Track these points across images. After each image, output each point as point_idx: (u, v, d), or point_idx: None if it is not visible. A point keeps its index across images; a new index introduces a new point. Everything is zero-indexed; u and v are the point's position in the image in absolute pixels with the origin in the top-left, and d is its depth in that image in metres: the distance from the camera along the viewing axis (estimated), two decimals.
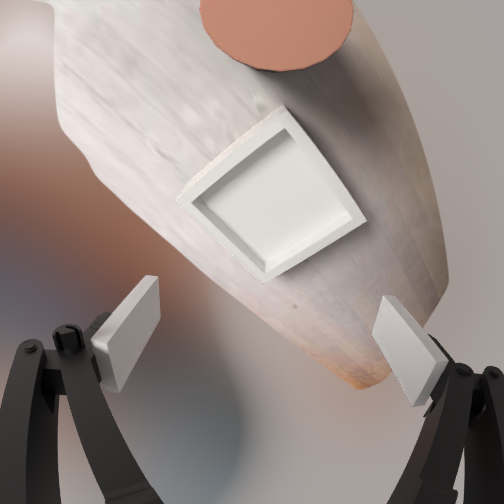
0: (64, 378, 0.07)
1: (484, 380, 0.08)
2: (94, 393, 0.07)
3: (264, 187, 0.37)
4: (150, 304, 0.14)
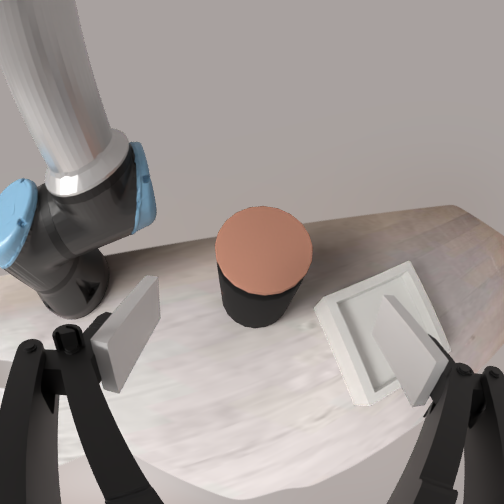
0: (64, 378, 0.07)
1: (484, 380, 0.08)
2: (94, 392, 0.07)
3: None
4: (150, 304, 0.14)
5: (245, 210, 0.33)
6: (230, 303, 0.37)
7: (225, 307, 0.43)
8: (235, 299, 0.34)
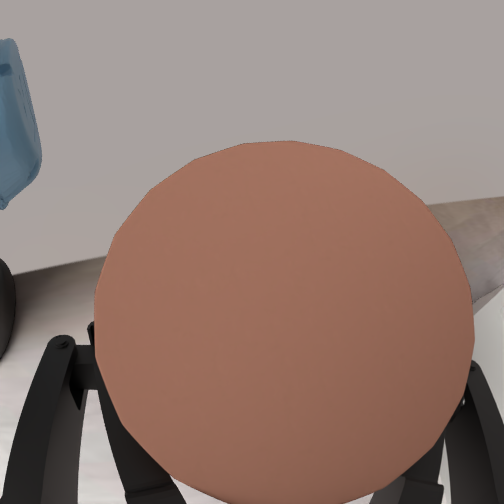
0: (96, 371, 0.08)
1: None
2: None
3: None
4: None
5: (227, 152, 0.09)
6: None
7: None
8: None
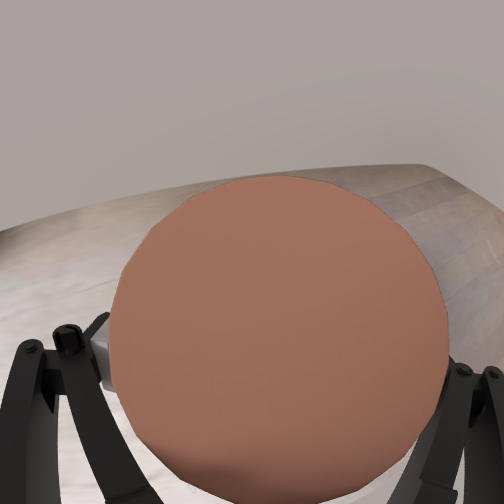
0: (64, 378, 0.07)
1: (484, 380, 0.08)
2: (94, 392, 0.07)
3: None
4: None
5: (222, 189, 0.09)
6: None
7: None
8: None
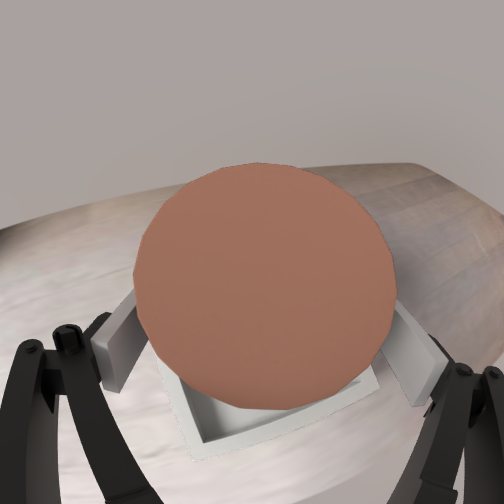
0: (64, 378, 0.07)
1: (484, 380, 0.08)
2: (94, 392, 0.07)
3: None
4: None
5: (212, 175, 0.13)
6: None
7: None
8: None
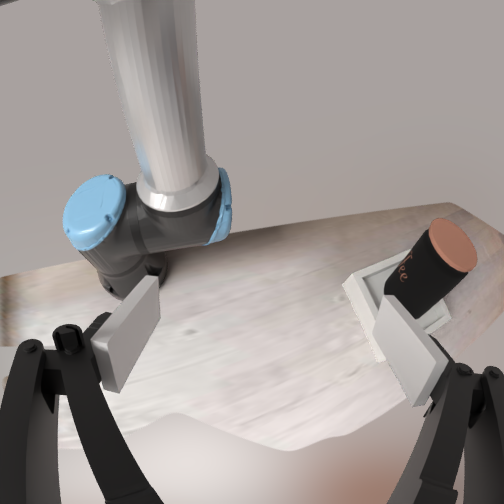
0: (64, 378, 0.07)
1: (484, 380, 0.08)
2: (94, 392, 0.07)
3: None
4: (150, 304, 0.14)
5: (441, 219, 0.40)
6: (412, 285, 0.42)
7: None
8: (428, 276, 0.39)
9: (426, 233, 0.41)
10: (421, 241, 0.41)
